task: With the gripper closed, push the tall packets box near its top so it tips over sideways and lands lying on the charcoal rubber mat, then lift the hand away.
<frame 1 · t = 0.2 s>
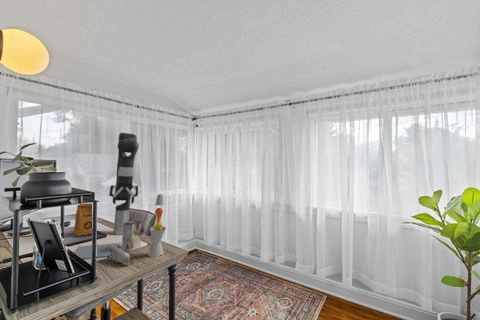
hand: (123, 203, 121), 29 cm above the table, tool pointing down, fingers open, 8 cm apart
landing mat: (98, 251, 124), on the table
coffee box: (130, 248, 132), on the table
decorative bird: (118, 262, 113), on the table
coffee package: (85, 234, 151), on the table
lava lamp: (155, 254, 125), on the table
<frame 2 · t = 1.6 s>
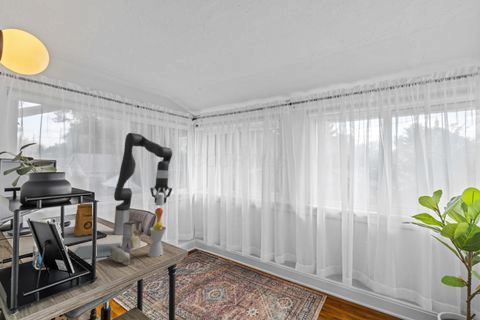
hand: (160, 203, 140), 27 cm above the table, tool pointing down, fingers open, 4 cm apart
nothing on the table moved.
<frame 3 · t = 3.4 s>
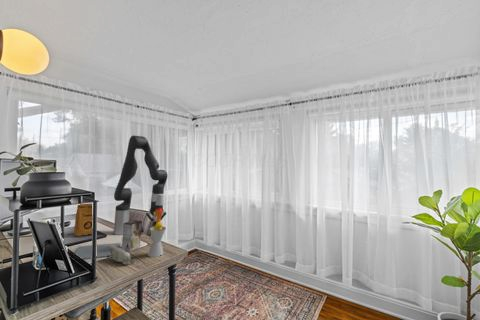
hand: (155, 227, 138), 12 cm above the table, tool pointing down, fingers closed
nothing on the table moved.
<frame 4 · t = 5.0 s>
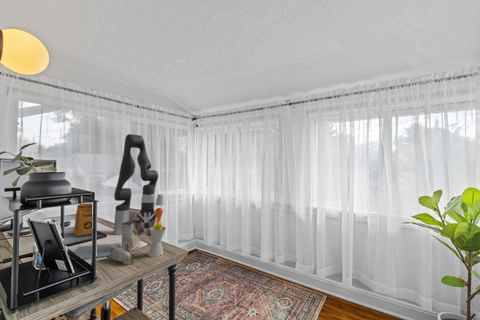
hand: (146, 228, 136), 11 cm above the table, tool pointing down, fingers closed
coffee box: (131, 248, 132), on the table, touching hand
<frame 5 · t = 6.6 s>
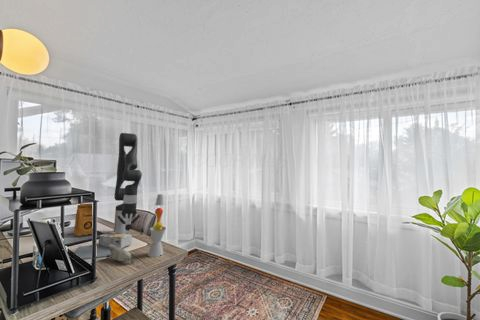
hand: (127, 230, 131), 11 cm above the table, tool pointing down, fingers closed
coffee box: (126, 241, 132), point 4 cm above the table, touching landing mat
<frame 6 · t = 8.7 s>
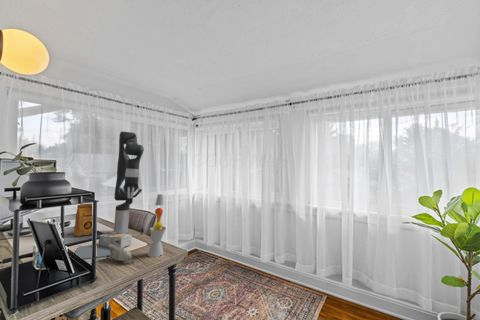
hand: (129, 204, 132), 27 cm above the table, tool pointing down, fingers closed
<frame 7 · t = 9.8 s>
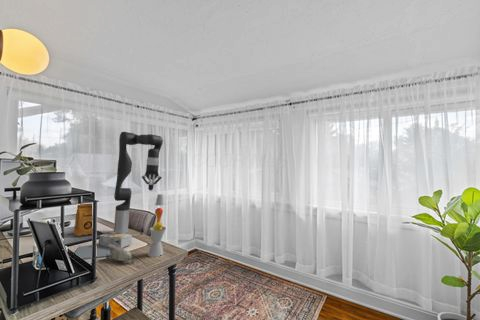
hand: (150, 190, 143), 35 cm above the table, tool pointing down, fingers closed
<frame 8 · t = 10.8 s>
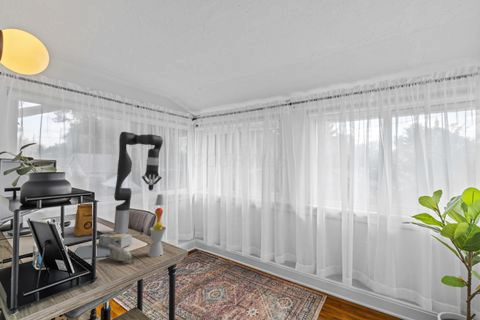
hand: (150, 190, 143), 35 cm above the table, tool pointing down, fingers closed
at the end: coffee box tilted 90°; coffee box touching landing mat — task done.
